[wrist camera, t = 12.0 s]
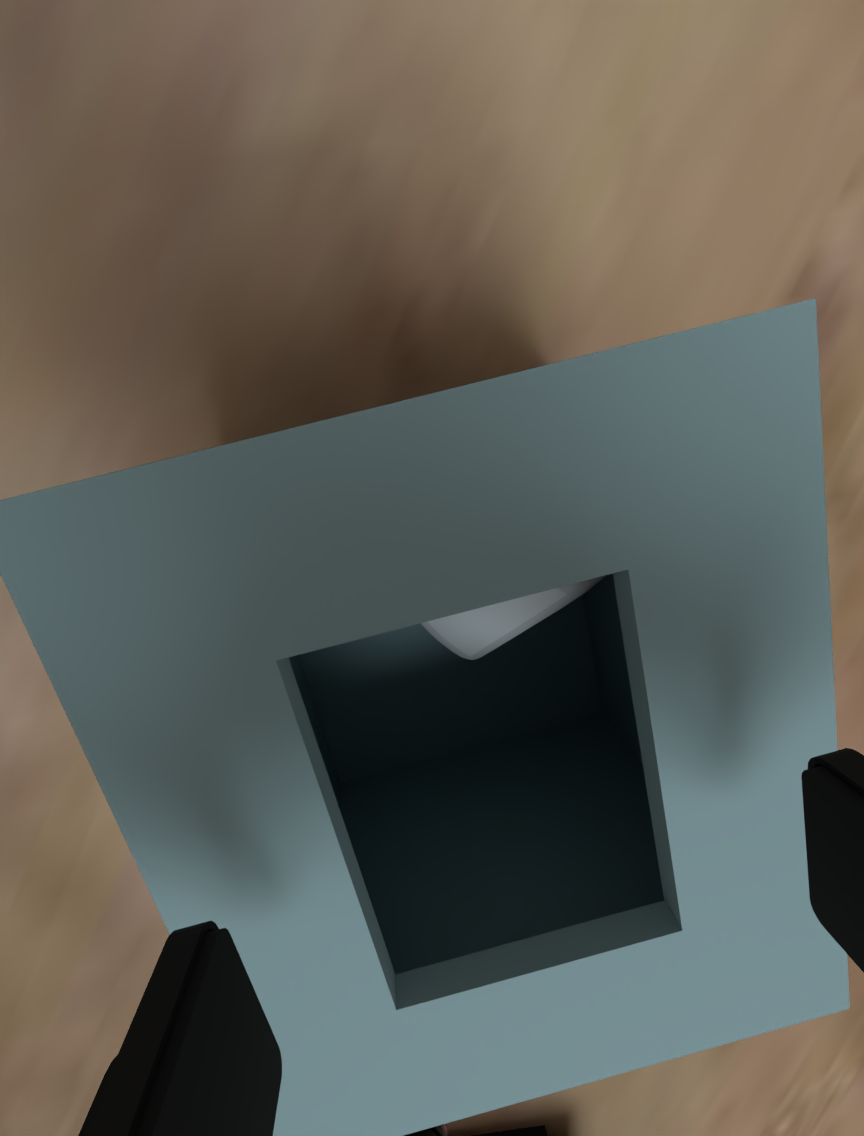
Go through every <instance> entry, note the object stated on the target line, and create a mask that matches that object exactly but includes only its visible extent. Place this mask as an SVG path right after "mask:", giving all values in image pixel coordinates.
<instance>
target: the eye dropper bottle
mask: <svg viewBox="0 0 864 1136" xmlns="http://www.w3.org/2000/svg"><path fill="white" fill-rule="evenodd" d="M605 576H606V575H605ZM605 576H601V577H597V578H593V579H589V580H585V581H582V582H578V583H574V584H570V585H566V586H562V587H558V588H555V589H551V590H547V591H543V592H539V593H535V594H531V595H528V596H524V597H520V598H516V599H512V600H508V601H504V602H501V603H497V604H493V605H489V606H485V607H481V608H477V609H473V610H470V611H466V612H462V613H458V614H454V615H450V616H446V617H443V618H439V619H435V620H431V621H427V622H423V623H421V624H422V626H423V627H424V628H425V629H426V630H427V631H428V632H429V633H430V634H431V635H432V636H433V637H434V638H435V639H436V640H438V641H439V642H440V643H441V644H443V645H444V646H445V647H446V648H448V649H449V650H451V651H452V652H454V653H455V654H457V655H458V656H460V657H462V658H465V659H470V660H475V659H478V658H480V657H483V656H484V655H486V654H488V653H489V652H491V651H493V650H494V649H496V648H498V647H499V646H501V645H502V644H504V643H506V642H507V641H509V640H511V639H512V638H514V637H516V636H517V635H519V634H521V633H522V632H524V631H525V630H527V629H529V628H530V627H532V626H534V625H535V624H537V623H538V622H540V621H542V620H543V619H545V618H547V617H548V616H550V615H551V614H553V613H555V612H556V611H558V610H560V609H561V608H563V607H564V606H566V605H567V604H569V603H570V602H572V601H574V600H575V599H577V598H578V597H580V596H581V595H583V594H584V593H585V592H587V591H588V590H589V589H591V588H592V587H593V586H594V585H596V584H597V583H598V582H599V581H600V580H601V579H603V578H604V577H605Z"/></svg>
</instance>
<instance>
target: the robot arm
mask: <svg viewBox="0 0 864 1136" xmlns="http://www.w3.org/2000/svg"><path fill="white" fill-rule="evenodd" d="M801 779H802V794H803V808H804V823H805V837H806V852H807V866H808V881H809V895H810V903H811V906H812V909H813V911H814V913H815V915H816V917H817V918H818V920H819V922H820V923H821V924H822V926H823V927H824V928H825V929H826V930H827V932H828V933H829V934H830V935H831V936H832V937H833V938H834V939H835V941H836V942H837V943H838V944H839V945H840V946H841V947H842V948H843V950H844V951H845V952H846V953H847V954H848V955H849V956H850V957H851V959H852V960H853V961H854V962H855V963H856V964H857V965H858V966H859V968H860V969H861V970H862V971H863V972H864V756H863V755H862V754H860V753H859V752H857V751H855V750H853V749H848V748H845V749H842V750H838V751H834V752H831V753H827V754H823V755H820V756H816V757H813V758H810V760H809V762H808V769H807V770H804V771H803V772H802V777H801ZM281 1078H282V1058H281V1052H280V1049H279V1046H278V1043H277V1041H276V1039H275V1036H274V1034H273V1032H272V1029H271V1027H270V1025H269V1022H268V1020H267V1018H266V1016H265V1013H264V1011H263V1009H262V1006H261V1004H260V1002H259V999H258V997H257V995H256V992H255V990H254V988H253V985H252V983H251V981H250V978H249V976H248V974H247V972H246V969H245V967H244V965H243V962H242V960H241V958H240V955H239V953H238V951H237V948H236V946H235V944H234V941H233V939H232V937H231V934H230V933H229V931H228V929H226V928H222V929H219V928H218V926H217V925H216V923H215V922H213V921H207V922H204V923H200V924H196V925H193V926H189V927H185V928H181V929H178V930H174V931H173V932H172V933H171V934H170V935H169V937H168V939H167V941H166V943H165V945H164V947H163V950H162V952H161V955H160V957H159V959H158V962H157V964H156V966H155V969H154V971H153V973H152V976H151V978H150V981H149V983H148V985H147V988H146V990H145V992H144V995H143V997H142V999H141V1002H140V1004H139V1007H138V1009H137V1011H136V1014H135V1016H134V1018H133V1021H132V1023H131V1025H130V1028H129V1030H128V1033H127V1035H126V1037H125V1040H124V1042H123V1044H122V1047H121V1049H120V1051H119V1054H118V1055H117V1056H116V1057H115V1058H114V1060H113V1061H112V1062H111V1064H110V1066H109V1068H108V1070H107V1072H106V1073H105V1075H104V1078H103V1080H102V1082H101V1084H100V1087H99V1089H98V1091H97V1094H96V1096H95V1098H94V1101H93V1103H92V1105H91V1108H90V1110H89V1112H88V1115H87V1117H86V1119H85V1122H84V1124H83V1126H82V1129H81V1131H80V1133H79V1136H273V1130H274V1124H275V1117H276V1111H277V1105H278V1098H279V1092H280V1085H281Z"/></svg>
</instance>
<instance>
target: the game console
mask: <svg viewBox="0 0 864 1136" xmlns="http://www.w3.org/2000/svg"><path fill="white" fill-rule="evenodd" d="M473 1136H547V1132H546V1128H545V1125H543V1126H536V1127H529V1128H522V1129H515V1130H508V1131H501V1132H494V1133H487V1134H480V1135H473Z"/></svg>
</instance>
